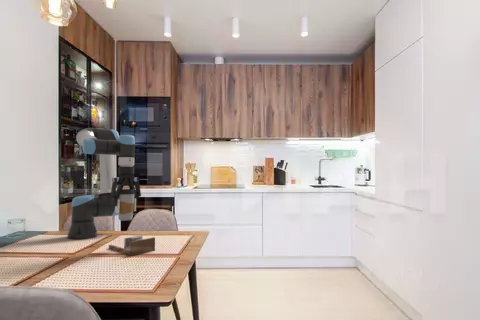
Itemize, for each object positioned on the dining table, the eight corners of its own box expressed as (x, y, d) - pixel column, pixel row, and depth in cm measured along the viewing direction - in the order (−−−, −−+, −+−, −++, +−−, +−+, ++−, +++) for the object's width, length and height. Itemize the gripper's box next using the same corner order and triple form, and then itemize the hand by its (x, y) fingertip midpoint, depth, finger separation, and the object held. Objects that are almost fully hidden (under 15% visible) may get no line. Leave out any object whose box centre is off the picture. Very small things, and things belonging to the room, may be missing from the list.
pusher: (123, 251, 151) (124, 238, 151) (141, 247, 158) (141, 235, 158) (128, 252, 148) (128, 239, 148) (145, 248, 155) (145, 236, 155)
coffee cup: (137, 218, 162) (137, 188, 163) (129, 221, 154) (130, 189, 155) (121, 218, 163) (122, 188, 164) (113, 220, 155) (114, 189, 156)
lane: (108, 248, 156) (108, 235, 156) (131, 244, 166) (131, 232, 166) (131, 255, 144) (131, 242, 144) (154, 250, 153) (155, 237, 153)
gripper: (110, 165, 149) (109, 214, 148) (149, 166, 166) (148, 210, 165) (102, 165, 154) (101, 213, 153) (140, 166, 170) (139, 209, 169)
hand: (125, 211), depth 159 cm, fingers closed on coffee cup, 8 cm apart
